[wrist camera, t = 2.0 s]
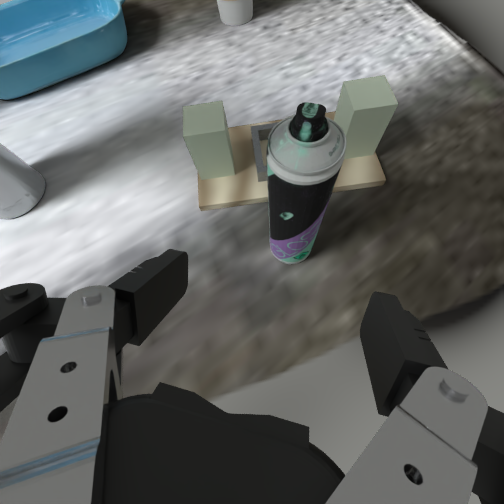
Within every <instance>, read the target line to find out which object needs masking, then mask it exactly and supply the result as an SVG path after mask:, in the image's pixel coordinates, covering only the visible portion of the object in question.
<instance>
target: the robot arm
mask: <svg viewBox="0 0 504 504" xmlns="http://www.w3.org/2000/svg"><path fill="white" fill-rule="evenodd" d="M44 191H45V180H44V178H43V176H42V175H41V174H40V173H38V172H37V171H36V170H34V169H33V168H32V167H31V166H29V165H28V164H27V163H25V162H24V161H23V160H21V159H20V158H19V157H18V156H16V155H15V154H14V153H12V152H11V151H10V150H8V149H7V148H6V147H5V146H3V145H2V144H1V143H0V219H12V218H15V217H18V216H21V215H23V214H25V213H26V212H28V211H29V210H31V209H32V208H33V207H34V206H35V205H36V204H37V203H38V202H39V201H40V199H41V197H42V196H43V193H44ZM187 286H188V255H187V253H186V252H183V251H178V250H173V249H169V250H167V251H166V252H164V253H163V254H161V255H160V256H159V257H155V258H152V259H149V260H146V261H144V262H143V263H141V264H140V265H138V266H137V267H135V268H134V269H133V270H131V272H128V273H127V274H125V275H124V276H122V277H121V278H119V279H118V280H116V281H115V282H113V283H112V284H111V285H109V286H108V287H107V286H89V287H85V288H82V289H79V290H77V291H75V292H73V293H72V294H70V295H69V296H68V297H67V298H47V295H46V291H45V288H44V287H43V286H42V285H40V284H35V283H25V284H18V285H13V286H10V287H6V288H4V289H1V290H0V338H2V340H3V343H4V346H5V348H6V351H7V352H5V353H4V354H2V355H1V356H0V412H1V411H2V410H3V409H4V408H5V407H7V406H8V405H9V404H10V403H11V402H12V401H13V400H14V399H15V398H17V397H18V396H19V397H18V400H17V402H16V405H15V407H14V410H13V412H12V415H11V417H10V420H9V423H8V425H7V428H6V430H5V433H4V435H3V438H2V441H1V443H0V504H468V501H469V498H470V495H471V492H473V493H475V494H476V495H478V496H479V499H480V501H481V504H504V413H502V412H500V411H497V410H495V409H493V408H491V407H489V406H488V404H487V401H486V399H485V398H484V396H483V395H482V393H481V392H480V391H479V390H478V389H477V388H476V387H475V386H474V385H473V384H472V383H471V382H469V381H468V380H467V379H465V378H464V377H462V376H460V375H459V374H457V373H455V372H453V371H451V370H449V369H448V368H447V366H446V365H445V363H444V361H443V360H442V358H441V356H440V354H439V353H438V351H437V349H436V348H435V346H434V344H433V343H432V342H431V341H430V340H431V339H430V338H429V336H428V334H427V333H425V329H424V328H423V326H422V324H421V323H420V321H419V320H418V319H417V318H416V317H415V316H414V315H412V314H411V313H410V312H409V311H406V310H404V309H403V308H402V306H401V304H400V302H399V300H398V298H397V297H396V296H395V295H390V294H385V293H380V292H374V293H373V294H372V296H371V298H370V301H369V304H368V307H367V309H366V312H365V315H364V318H363V320H362V323H361V328H360V338H361V342H362V346H363V350H364V355H365V359H366V363H367V368H368V372H369V376H370V380H371V384H372V388H373V393H374V397H375V401H376V405H377V410H378V413H379V414H380V415H384V416H387V417H388V418H387V419H386V421H385V422H384V423H383V425H382V426H381V428H380V429H379V430H378V432H377V433H376V435H375V436H374V437H373V439H372V440H371V441H370V443H369V444H368V446H367V447H366V448H365V450H364V451H363V453H362V454H361V455H360V457H359V458H358V459H357V461H356V462H355V463H354V465H353V466H352V468H351V469H350V471H349V472H348V473H347V474H346V476H345V474H344V473H343V472H342V470H341V469H340V468H339V467H338V466H337V465H336V464H335V463H334V461H332V460H331V459H330V458H329V457H328V456H327V455H326V454H325V453H324V452H323V451H321V450H320V449H318V448H317V447H316V446H315V445H313V444H311V443H310V442H309V427H307V426H304V425H301V424H298V423H294V422H291V421H288V420H284V419H281V418H278V417H274V416H271V415H253V414H230V413H226V412H224V411H223V410H221V409H219V408H218V407H216V406H215V405H213V404H212V403H210V402H208V401H207V400H205V399H204V398H202V397H201V396H199V395H197V394H196V393H194V392H191V391H188V390H185V389H181V388H178V387H175V386H171V385H168V384H165V383H161V382H160V383H159V384H158V386H157V387H156V389H155V390H154V392H153V394H142V395H135V396H130V397H126V398H123V347H124V346H125V345H126V344H127V343H130V344H133V345H137V346H140V345H141V344H142V342H143V341H144V340H145V339H146V338H147V337H148V336H149V334H150V333H151V332H152V331H153V330H154V329H155V328H156V326H157V325H158V324H159V323H160V322H161V321H162V320H163V318H164V317H165V316H166V315H167V314H168V313H169V312H170V310H171V309H172V308H173V307H174V306H175V305H176V304H177V302H178V301H179V300H180V299H181V298H182V297H183V295H184V294H185V292H186V289H187Z"/></svg>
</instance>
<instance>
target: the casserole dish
mask: <svg viewBox="0 0 504 504" xmlns="http://www.w3.org/2000/svg"><path fill="white" fill-rule="evenodd" d="M124 2H125V0H13V1H10V2H7V3H4V4H1V5H0V99H4V100H9V99H14V98H18V97H21V96H25V95H27V94H30V93H33V92H36V91H38V90H41V89H44V88H46V87H49V86H51V85H54V84H56V83H59V82H61V81H64V80H65V79H68V78H71V77H74V76H76V75H79V74H81V73H84V72H86V71H89V70H91V69H93V68H95V67H98V66H100V65H102V64H105V63H107V62H109V61H111V60H113V59H115V58H116V57H118V56H119V55H120V54H122V52H123V51H124V49H125V47H126V44H127V31H126V26H125V21H124V16H123V11H122V4H123V3H124Z"/></svg>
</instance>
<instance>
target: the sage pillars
mask: <svg viewBox="0 0 504 504" xmlns="http://www.w3.org/2000/svg"><path fill="white" fill-rule="evenodd" d="M397 106H398V102H397V100H396V98H395V96H394V94H393V92H392V90H391V87H390V85H389V83H388V81H387V79H386V77H385V75H383V76H377V77H370V78H364V79H358V80H351V81H345V82H343V85H342V89H341V93H340V97H339V101H338V105H337V109H336V113H335V117H334V121H335V122H336V123H337V124H338V125H339V126H340V127H341V128H342V130H343V131H344V134H345V136H346V142H347V144H346V150H345V157H344V159H349V158H356V157H363V156H370V155H373V154H374V152H375V150H376V148H377V146H378V144H379V142H380V140H381V138H382V136H383V134H384V132H385V130H386V128H387V126H388V124H389V122H390V120H391V118H392V116H393V114H394V112H395V110H396V108H397ZM183 138H184V140H185V142H186V145H187V147H188V150H189V152H190V154H191V157H192V159H193V161H194V164H195V166H196V169H197V171H198V173H199V176H200V178H201V180H205V179H212V178H219V177H225V176H232V175H235V170H234V161H233V152H232V145H231V141H230V136H229V131H228V126H227V121H226V116H225V111H224V107H223V102H222V101H217V102H210V103H204V104H197V105H191V106H185V107H183Z"/></svg>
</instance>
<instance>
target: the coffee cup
mask: <svg viewBox="0 0 504 504" xmlns="http://www.w3.org/2000/svg"><path fill="white" fill-rule="evenodd" d="M217 3H218V8H219V12H220V17H221V21H222V22H223V23H224V24H226V25H230V26H238V25H242V24H245V23H247V22H249V21H250V20H251V19H252V17H253V0H217Z"/></svg>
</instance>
